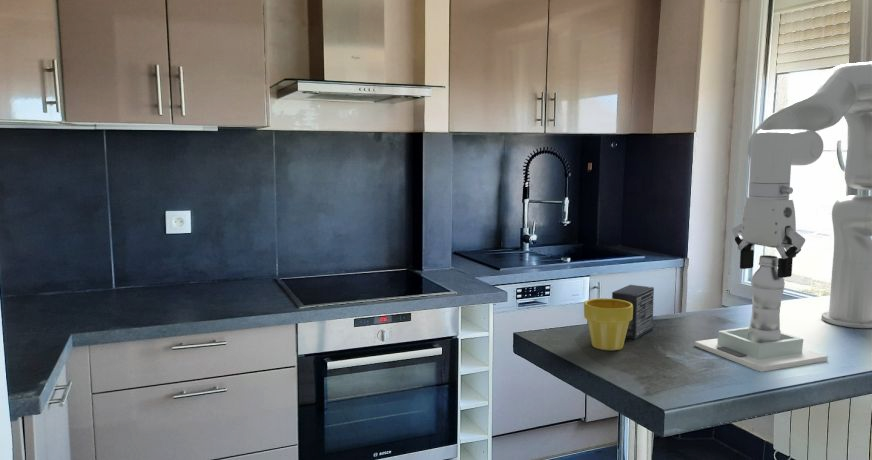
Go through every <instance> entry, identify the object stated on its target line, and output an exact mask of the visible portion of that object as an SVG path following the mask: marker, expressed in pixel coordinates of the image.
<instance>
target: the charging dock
mask: <svg viewBox="0 0 872 460" xmlns="http://www.w3.org/2000/svg"><path fill="white" fill-rule="evenodd" d="M749 327H750V326H747V327H746V326H745V327H738V328H731V329H730V328H729V329H723V330H718V331H717V338H711V339H703V340H695V341H694V347H695V348H696V347H697V348H699V349H701V350H703V351H704V350H705V351H707V352H710V353H711V354H714V355H717V356H719V357H722V358H724V359H727V360H730V361H732V362H735V363H738V364H740V365H742V366H745V367H747V368H749V369H753V370H755V371H757V372H761V373H762V372H768V371H774V370H781V369H787V368H792V367H797V366H798V367H799V366H803V365H804V366H805V365H810V364H811V365H812V364H816V363H817V364H818V363H823V362H827V361H828V359H829V357H828V355H825V354H822V353H820V352H816V351H813V350H811V349H807V348H804V347H803V343H804V338H801V337H798V336H795V335H793V334H792V335H791V334H788V333H786V332H782V331H780V332H781V340H779V341H772V342H765V343H756V342H754V341H751V340H748V338H747V335H748V330H749Z"/></svg>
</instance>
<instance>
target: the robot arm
mask: <svg viewBox="0 0 872 460" xmlns="http://www.w3.org/2000/svg"><path fill="white" fill-rule="evenodd" d="M843 117H844V119H845V121H846V123H847V127H848V133H849V134H848V145H847V152H846V158H845V166H844V180H845V181H844V182H845V184H846V185H847V186H848V187H849V188H850V189H851V188H852V189H856V190H861V191H862V190H863V191H872V61H865V62H864V61H863V62H856V63H855V62H854V63H846V64H840V65H837V66H835V67H833V68H831V69H830V70H829V71H828V72H827V73H826V74H825V75H824V76H823V77H822V78H821V80H820V81H819V82H818V83H817V85H815V87H814V88H813V89H812V90H811V91H810V93H808V95H807V96H806V97H804V98H802V99H801V100H797V101H795V102H793V103H791V104H789V105H787V106H785V107H783V108H781V109H779V110H777V111H774V112H772V114H770V115H768V116H767V117H766V118H765V119H764V120H762V121H761V123H760V124H759V125H758V126H757V127H756V128H755V129H754V131H753V132H752V134H751V135H750V137H749V139H748V141H747V149H746V150H747V155H748V157H749V159H750V162H749V182H748V183H749V184H748V196H747V197H746V200H745V203H744V208H743V212H742V213H743V214H742V222H741V224H739V225H737V226H735V227H733V228H732V234H733V237H734V241H735V243H736V244H737V249H738V250H739V251H740V254H739V256H740V257H739V258H740V259H739V269H741V270H746V269H748V270H749V269H752V268H754V256H755V255H754V254H755V251H754V249H752V248H754V247H755V246H762V247H768V248H772V249H773V248H774V249H775V248H776V250H777V252H778V253H779V256H780V257H779V259H778V267H777V269H778V274H777V276H778V277H779V278H790V277H792V275H793V274H792V273H793V259H794V258H796V257H797V255H798V254H799V253H800V252H801V251H802V248H803V246H804V244H805V242H806V238H805V237H803V235H801V234H799V233H798V232H797V231H796V230H797V226H796V221H797V220H796V210H795V204H794V200H793V198H790V195H791V194H793V192H794V188H793V187H791V174H792V173H791V172H792V166H808V165H811V164H813V163H815V162H816V161H818V160H819V159H820V158H821V156H822V154H823V152H824V140H823V139H822V137H821V135H820V134H819V133H818V132H819V131H822V130H824V129H828V128H830V127H834V126H835V125H837V123H839V122H840V121H841V120H842V118H843ZM831 221H832V227H833V256H832V257H833V258H832V267H831V281H830V282H831V283H830V293H829V304H828V305H829V307H828V311H825V312H822V313H821V320H822V321H824V322H826V323H828V324H832V325H834V326H835V325H836V326H839V327H846V328H853V329H872V238H871V237H872V195H862V194H861V195H860V194H854V195H853V194H852V195H845V196H842V197H840V198H839V199H837V200H836V201H835V202H834V204H833V206H832V209H831Z"/></svg>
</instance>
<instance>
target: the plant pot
mask: <svg viewBox="0 0 872 460" xmlns="http://www.w3.org/2000/svg"><path fill="white" fill-rule="evenodd" d="M583 316H584V318H585V319H586V320H587V325H588V326H587V327H588V331H589V336H590V341H591V346H592V347H593V348H595V349H597V350H602V351H619V350H622V349H623V347H624V344H625V340H626V338H625V336H626V332H627V328H628V325H629V321H631V320H632V317H633V305H632V303H630V302H628V301H624V300H618V299H612V298H603V297H602V298H599V297H598V298H591V299H588V300H585V301H584V303H583Z"/></svg>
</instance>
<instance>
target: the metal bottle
mask: <svg viewBox="0 0 872 460" xmlns="http://www.w3.org/2000/svg"><path fill="white" fill-rule="evenodd" d="M779 258H780V257H779V256H776V255H770V254H768V255H767V254H765V255H763V254H761V255H760V256H759V262H758V266H759V268H758V269H757V270H756V271H755V272H754V273H753V275H752V277H751V279H750V285H751V299H752V301H751V302H752V303H751V305H752V308H751V316H750V323H749V326H748V327H749V330H748V335H747V338H748V340H751V341H754V342H756V343H765V342H772V341H779V340H781V332H782V331H781V326H780V325H781V323H780V322H781V321H780V311H781V309H780V308H781V305H782V304H781V303H782V298H783V296H784V295H783V293H784V290H785V289H784V288H785V285H786V283H785V279H784V278H785V277H784V278H779V277H778V276H777V274H778V259H779Z"/></svg>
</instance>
